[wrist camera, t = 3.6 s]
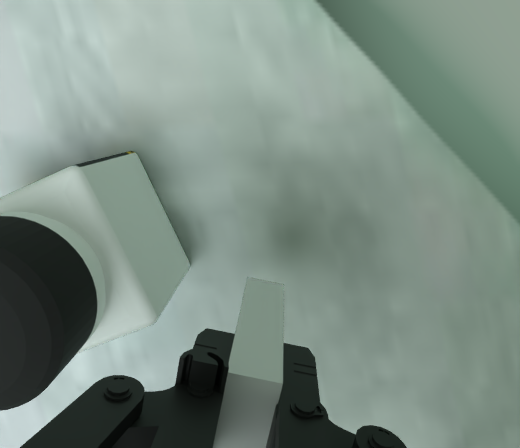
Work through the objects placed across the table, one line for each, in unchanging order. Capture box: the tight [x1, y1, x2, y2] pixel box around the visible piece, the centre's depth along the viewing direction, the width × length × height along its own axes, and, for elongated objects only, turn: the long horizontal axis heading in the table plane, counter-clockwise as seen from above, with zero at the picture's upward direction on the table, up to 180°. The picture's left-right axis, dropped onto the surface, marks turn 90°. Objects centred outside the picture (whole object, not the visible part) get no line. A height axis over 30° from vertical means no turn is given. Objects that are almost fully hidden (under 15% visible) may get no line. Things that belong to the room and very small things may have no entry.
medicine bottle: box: [0, 151, 190, 411], centre depth 19 cm, size 7×7×12 cm
